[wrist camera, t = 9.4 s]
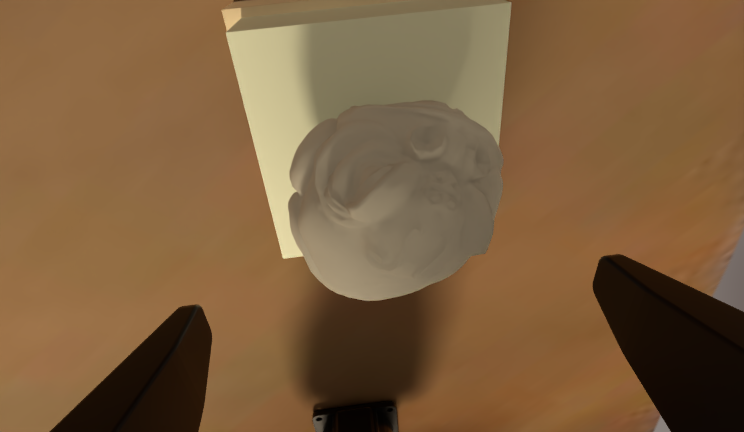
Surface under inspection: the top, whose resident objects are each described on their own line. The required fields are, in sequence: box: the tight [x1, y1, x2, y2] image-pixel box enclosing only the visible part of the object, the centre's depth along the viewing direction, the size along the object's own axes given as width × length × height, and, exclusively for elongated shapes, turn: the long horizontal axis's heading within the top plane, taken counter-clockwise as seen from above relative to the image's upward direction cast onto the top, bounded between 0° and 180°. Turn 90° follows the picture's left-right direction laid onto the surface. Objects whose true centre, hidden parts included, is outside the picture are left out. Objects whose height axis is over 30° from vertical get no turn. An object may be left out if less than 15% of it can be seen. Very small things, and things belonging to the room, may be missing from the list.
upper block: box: [226, 0, 512, 259], centre depth 17 cm, size 9×9×3 cm
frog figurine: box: [288, 100, 504, 301], centre depth 13 cm, size 6×7×7 cm
